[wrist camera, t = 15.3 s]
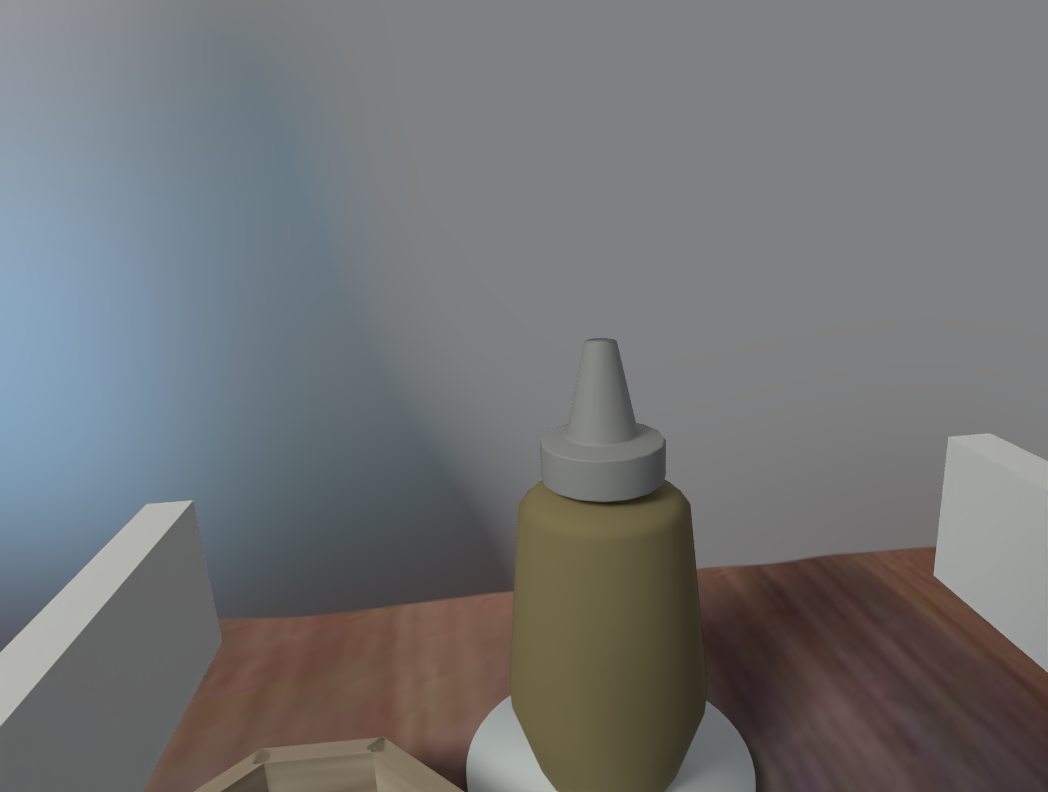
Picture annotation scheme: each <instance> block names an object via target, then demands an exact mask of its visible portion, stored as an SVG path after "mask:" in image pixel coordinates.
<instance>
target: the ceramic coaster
mask: <svg viewBox="0 0 1048 792" xmlns="http://www.w3.org/2000/svg"><path fill="white" fill-rule="evenodd" d="M466 777H467V789H468V792H558V791H556V790H555V788H554V787H553V786H552V784H551V783H550V782H549V780H548V779H547V778H546V776H545V775H544V774H543V772H542V770H541V768H540V766H539V764H538V762H537V760H536V758H535V755H534V753H533V751H532V749H531V747H530V745H529V743H528V740H527V738H526V736H525V734H524V732H523V730H522V727H521V725H520V723H519V721H518V719H517V717H516V715H515V712H514V710H513V708H512V702H511V695H510V696H509V697H508V698H506V699H505V700H503V701H502V702H501V703H500V704H499V705H498V706H497V707H495V708H494V709H493V710H492V711H491V712H490V714H489V715H488V716H487V717H486V718H485V720H484V721H483V722H482V724H481V725H480V727H479V728H478V730H477V732H476V734H475V736H474V738H473V740H472V743H471V745H470V749H469V753H468V757H467V767H466ZM665 792H756V783H755V770H754V766H753V762H752V758H751V755H750V753H749V751H748V748H747V746H746V744H745V742H744V740H743V739H742V737H741V735H740V734H739V732H738V731H737V729H736V728H735V727H734V726H733V725H732V723H731V722H730V721H729V720H728V719H727V718H726V717H725V716H724V715H723V714H722V713H721V712H720V711H719V710H718V709H717V708H715V707H714V706H713V705H712V704H710V703H709V702H708V701H706V706H705V714H704V716H703V718H702V720H701V723H700V725H699V727H698V729H697V732H696V734H695V736H694V738H693V740H692V743H691V745H690V747H689V749H688V752H687V754H686V756H685V758H684V760H683V763H682V765H681V767H680V769H679V772H678V774H677V776H676V778H675V779H674V780H673V781H672V783H671V784H670V785H669V786H668V788H667V789H666V790H665Z"/></svg>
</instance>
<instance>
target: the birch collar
mask: <svg viewBox="0 0 1048 792" xmlns="http://www.w3.org/2000/svg"><path fill="white" fill-rule="evenodd" d="M194 792H464V791H463V790H461V789H460V788H458V787H457V786H455V785H454V784H452V783H451V782H449V781H448V780H446V779H445V778H443V777H442V776H440V775H439V774H437V773H436V772H434V771H433V770H431V769H430V768H428V767H427V766H425V765H424V764H423V763H421V762H420V761H418V760H417V759H415V758H414V757H412V756H411V755H409V754H408V753H406V752H405V751H403V750H402V749H400V748H399V747H397V746H396V745H394V744H393V743H391V742H390V741H388V740H387V739H386V737H382V736H381V737H380V738H370V739H359V740H349V741H338V742H328V743H317V744H307V745H296V746H286V747H276V748H265V749H264V748H261V749H258V750H257V751H256V752H255V753H253V754H252V755H250V756H249V757H247V758H245V759H244V760H242V761H241V762H239V763H238V764H236V765H235V766H233V767H231V768H230V769H228V770H227V771H225V772H224V773H222V774H221V775H219V776H217V777H216V778H214V779H213V780H211V781H210V782H208V783H207V784H205V785H203V786H202V787H200V788H199V789H197V790H196V791H194Z"/></svg>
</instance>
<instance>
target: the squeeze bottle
mask: <svg viewBox="0 0 1048 792" xmlns="http://www.w3.org/2000/svg"><path fill="white" fill-rule="evenodd" d="M540 457H541V477H542V481H541V482H539V483H537V484H536V485H535V486H534V487H533V488H531V489H530V490H529V491H528V492H527V494H526V495H525V496H524V498H523V499H522V500H521V502H520V503H519V510H518V529H517V548H516V566H515V585H514V603H513V622H512V640H511V659H510V678H509V684H510V693H511V702H512V708H513V710H514V712H515V715H516V717H517V719H518V721H519V723H520V725H521V727H522V730H523V732H524V734H525V736H526V738H527V740H528V743H529V745H530V747H531V749H532V751H533V753H534V755H535V758H536V760H537V762H538V764H539V766H540V768H541V770H542V772H543V774H544V775H545V776H546V778H547V779H548V780H549V782H550V783H551V784H552V786H553V787H554V788H555V790H556V791H558V792H665V790H666V789H667V788H668V786H669V785H670V784H671V783H672V781H673V780H674V779H675V778H676V776H677V774H678V772H679V769H680V767H681V765H682V763H683V760H684V758H685V756H686V754H687V752H688V749H689V747H690V745H691V743H692V740H693V738H694V736H695V734H696V732H697V729H698V727H699V725H700V723H701V720H702V718H703V716H704V714H705V706H706V697H707V688H708V687H707V677H706V666H705V655H704V645H703V634H702V624H701V613H700V602H699V592H698V581H697V571H696V560H695V550H694V539H693V530H692V518H691V507H690V503H689V502H688V500H687V499H686V498H685V497H684V495H683V494H682V492H681V491H680V490H679V489H677V488H676V487H675V486H674V485H672V484H671V483H670V482H668V481H666V480H664V479H665V474H666V470H665V468H666V467H665V466H666V440H665V438H664V437H663V436H662V435H661V434H660V433H659V432H658V431H657V430H655V429H653V428H650V427H648V426H646V425H643V424H638V423H636V422H635V417H634V413H633V409H632V405H631V400H630V396H629V392H628V388H627V383H626V379H625V375H624V370H623V366H622V362H621V358H620V353H619V349H618V345H617V341H616V340H614V339H607V338H600V339H590V340H586V341H585V342H584V344H583V350H582V355H581V360H580V365H579V370H578V376H577V381H576V386H575V392H574V397H573V402H572V407H571V412H570V418H569V423H568V424H567V425H562V426H559V427H557V428H555V429H553V430H550V431H548V432H547V433H546V434H545V436H544V437H543V438H542V439H541V440H540Z"/></svg>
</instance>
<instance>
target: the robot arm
mask: <svg viewBox="0 0 1048 792" xmlns="http://www.w3.org/2000/svg"><path fill="white" fill-rule="evenodd" d="M934 576H935V577H936V578H937V579H939V580H940V581H941V582H942V583H943V584H944V585H946V586H947V587H948V588H949V589H950V590H952V591H953V592H954V593H955V594H956V595H957V596H959V597H960V598H961V599H962V600H963V601H964V602H966V603H967V604H968V605H969V606H970V607H971V608H973V609H974V610H975V611H976V612H977V613H979V614H980V615H981V616H982V617H983V618H984V619H986V620H987V621H988V622H989V623H990V624H991V625H993V626H994V627H995V628H996V629H997V630H998V631H1000V632H1001V633H1002V634H1003V635H1004V636H1006V637H1007V638H1008V639H1009V640H1010V641H1011V642H1013V643H1014V644H1015V645H1016V646H1017V647H1018V648H1020V649H1021V650H1022V651H1023V652H1024V653H1025V654H1027V655H1028V656H1029V657H1030V658H1031V659H1033V660H1034V661H1035V662H1036V663H1037V664H1038V665H1040V666H1041V667H1042V668H1043V669H1044V670H1045V671H1047V672H1048V461H1046V460H1044V459H1042V458H1040V457H1038V456H1035V455H1034V454H1031V453H1029V452H1027V451H1025V450H1023V449H1021V448H1019V447H1017V446H1015V445H1013V444H1011V443H1009V442H1007V441H1005V440H1003V439H1001V438H999V437H997V436H995V435H993V434H990V433H988V434H976V435H965V436H953V437H948V446H947V456H946V465H945V474H944V483H943V493H942V502H941V511H940V521H939V530H938V539H937V548H936V558H935V567H934ZM221 643H222V639H221V635H220V630H219V625H218V620H217V615H216V611H215V605H214V600H213V595H212V590H211V585H210V580H209V576H208V571H207V566H206V561H205V556H204V551H203V546H202V542H201V536H200V531H199V526H198V521H197V517H196V512H195V507H194V502H193V500H191V501H179V502H168V503H156V504H146V506H144V508H142V509H141V510H140V512H138V513H137V515H136V516H135V517H134V518H133V519H132V520H131V521H130V522H129V523H128V524H127V525H126V526H125V527H124V528H123V529H122V530H121V531H120V532H119V533H118V534H117V535H116V536H115V537H114V538H113V539H112V540H111V541H110V542H109V543H108V544H107V545H106V546H105V547H104V548H103V549H102V550H101V551H100V552H99V553H98V554H97V555H96V556H95V557H94V558H93V559H92V560H91V561H90V562H89V563H88V564H87V565H86V566H85V567H84V568H83V570H81V571H80V572H79V573H78V574H77V575H76V576H75V577H74V578H73V579H72V580H71V581H70V582H69V583H68V584H67V585H66V587H65V588H64V589H63V590H62V591H61V592H60V593H59V594H58V595H57V596H56V597H55V598H54V599H53V600H52V601H51V602H50V603H49V604H48V605H47V606H46V607H45V608H44V609H43V610H42V611H41V612H40V613H39V614H38V615H37V616H36V617H35V618H34V619H33V620H32V621H31V622H30V623H29V624H28V625H27V626H26V627H25V628H24V629H23V630H22V631H21V632H20V633H19V634H18V635H17V636H16V637H15V638H14V639H13V640H12V641H11V642H10V643H9V644H8V645H7V646H6V647H5V649H3V651H2V652H0V792H143V790H144V788H145V787H146V785H147V783H148V781H149V779H150V777H151V775H152V773H153V771H154V770H155V768H156V766H157V764H158V762H159V760H160V758H161V756H162V754H163V753H164V751H165V749H166V747H167V745H168V743H169V741H170V739H171V738H172V736H173V734H174V732H175V730H176V728H177V726H178V724H179V722H180V721H181V719H182V717H183V715H184V713H185V711H186V709H187V707H188V705H189V704H190V702H191V700H192V698H193V696H194V694H195V692H196V690H197V688H198V687H199V685H200V683H201V681H202V679H203V677H204V675H205V673H206V671H207V670H208V668H209V666H210V664H211V662H212V660H213V658H214V656H215V654H216V653H217V651H218V649H219V647H220V645H221Z"/></svg>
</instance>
